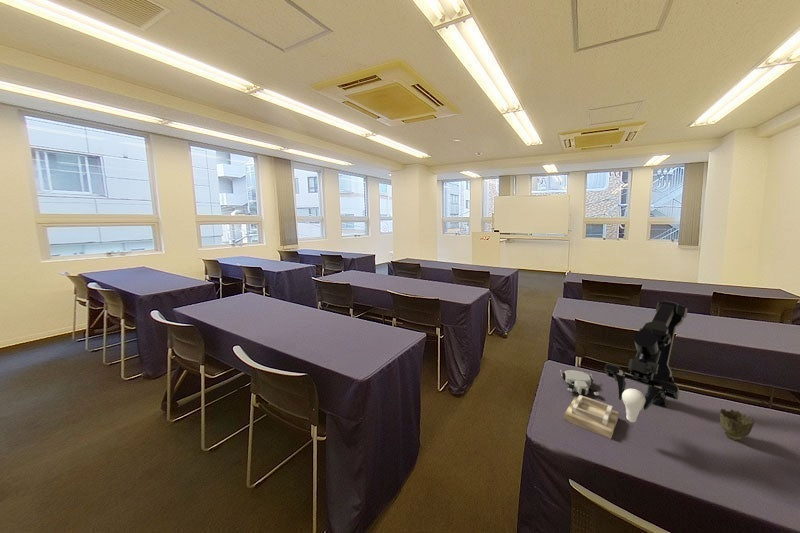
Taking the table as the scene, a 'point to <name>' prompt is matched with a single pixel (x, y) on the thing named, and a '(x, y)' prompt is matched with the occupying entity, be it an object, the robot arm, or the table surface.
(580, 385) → the robot toy
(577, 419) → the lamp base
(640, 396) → the lightbulb
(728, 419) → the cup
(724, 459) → the table surface
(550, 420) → the table surface
